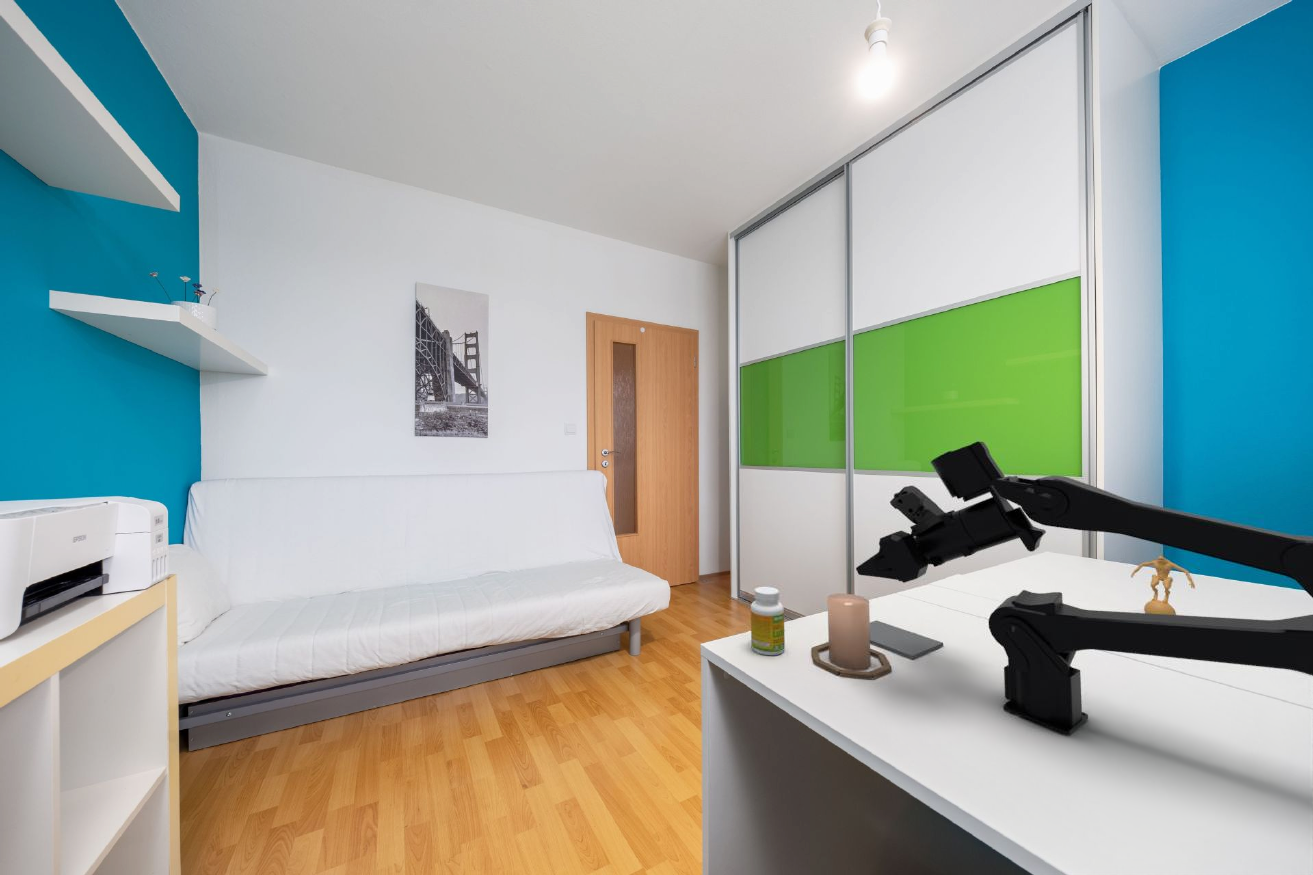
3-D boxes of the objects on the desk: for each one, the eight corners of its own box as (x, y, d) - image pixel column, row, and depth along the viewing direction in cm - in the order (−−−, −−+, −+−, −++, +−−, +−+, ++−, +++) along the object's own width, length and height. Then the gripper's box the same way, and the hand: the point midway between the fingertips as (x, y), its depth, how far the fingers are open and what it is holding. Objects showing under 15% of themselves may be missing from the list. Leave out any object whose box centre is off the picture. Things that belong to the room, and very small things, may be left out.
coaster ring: (904, 665, 70) (904, 661, 70) (858, 685, 64) (858, 681, 64) (842, 640, 79) (841, 637, 79) (797, 656, 73) (797, 652, 73)
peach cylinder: (879, 663, 71) (877, 601, 71) (854, 674, 67) (852, 608, 68) (845, 649, 76) (843, 591, 76) (820, 658, 73) (819, 597, 73)
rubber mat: (943, 646, 76) (943, 642, 76) (912, 659, 72) (912, 655, 72) (876, 623, 87) (876, 620, 87) (845, 633, 82) (845, 630, 82)
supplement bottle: (777, 659, 73) (775, 597, 73) (745, 650, 76) (744, 591, 76) (789, 647, 77) (788, 588, 77) (759, 639, 80) (758, 583, 80)
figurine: (1125, 617, 88) (1122, 554, 88) (1138, 611, 91) (1135, 550, 91) (1189, 632, 81) (1186, 563, 81) (1201, 625, 84) (1198, 559, 84)
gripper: (958, 472, 72) (869, 511, 82) (915, 479, 59) (817, 525, 69) (1001, 540, 68) (902, 573, 78) (966, 563, 55) (853, 599, 65)
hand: (870, 565), depth 72 cm, fingers open, 9 cm apart
